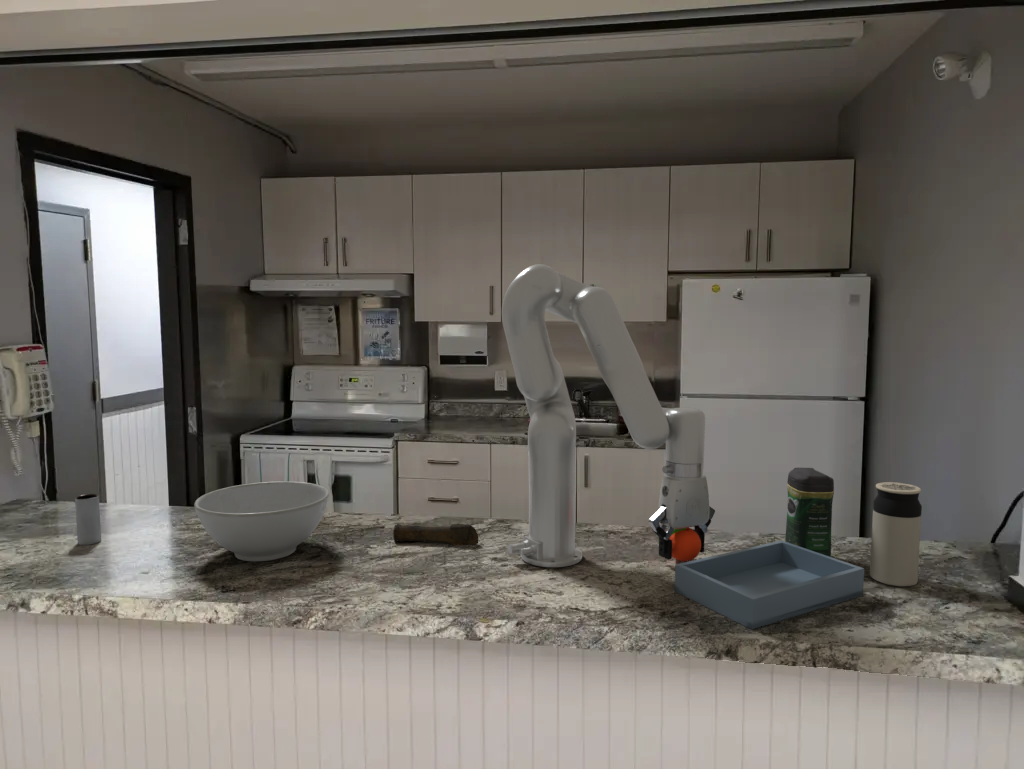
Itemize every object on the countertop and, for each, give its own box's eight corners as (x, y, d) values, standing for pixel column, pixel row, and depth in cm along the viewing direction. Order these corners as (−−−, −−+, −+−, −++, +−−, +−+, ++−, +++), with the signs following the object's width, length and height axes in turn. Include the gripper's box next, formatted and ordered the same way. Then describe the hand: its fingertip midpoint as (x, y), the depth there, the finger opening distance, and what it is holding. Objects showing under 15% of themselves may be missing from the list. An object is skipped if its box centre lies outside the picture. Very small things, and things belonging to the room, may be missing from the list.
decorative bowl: (326, 527, 167) (325, 477, 166) (335, 565, 142) (333, 506, 140) (203, 539, 158) (201, 486, 157) (189, 581, 133) (186, 519, 132)
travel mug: (922, 589, 129) (927, 493, 127) (874, 585, 131) (878, 490, 129) (911, 574, 136) (916, 483, 135) (866, 570, 139) (870, 480, 137)
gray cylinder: (105, 540, 157) (102, 495, 156) (84, 546, 154) (81, 500, 152) (94, 537, 160) (92, 492, 159) (73, 542, 156) (70, 497, 155)
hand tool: (391, 544, 156) (391, 523, 155) (398, 538, 160) (397, 518, 159) (474, 550, 152) (474, 529, 151) (479, 544, 156) (479, 523, 155)
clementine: (677, 569, 139) (679, 534, 138) (654, 558, 145) (655, 524, 144) (707, 563, 143) (709, 529, 142) (684, 552, 149) (685, 519, 148)
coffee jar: (836, 566, 141) (841, 475, 139) (797, 566, 141) (800, 475, 139) (816, 550, 150) (820, 464, 149) (779, 550, 151) (782, 464, 149)
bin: (752, 629, 113) (753, 599, 112) (674, 591, 128) (675, 564, 128) (862, 595, 126) (864, 568, 126) (780, 564, 142) (781, 540, 141)
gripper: (663, 477, 134) (660, 566, 136) (729, 468, 143) (726, 552, 144) (638, 470, 141) (636, 555, 143) (702, 461, 149) (700, 542, 151)
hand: (681, 553), depth 143 cm, fingers closed on clementine, 8 cm apart
